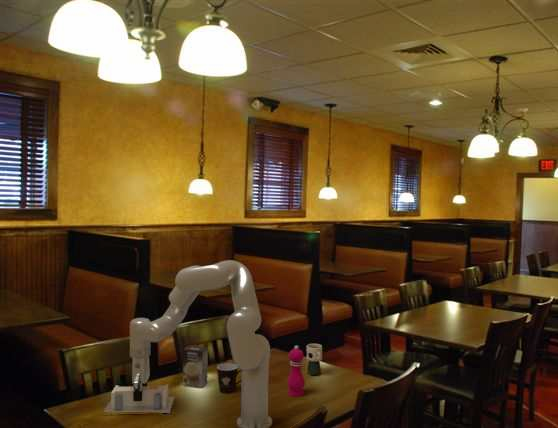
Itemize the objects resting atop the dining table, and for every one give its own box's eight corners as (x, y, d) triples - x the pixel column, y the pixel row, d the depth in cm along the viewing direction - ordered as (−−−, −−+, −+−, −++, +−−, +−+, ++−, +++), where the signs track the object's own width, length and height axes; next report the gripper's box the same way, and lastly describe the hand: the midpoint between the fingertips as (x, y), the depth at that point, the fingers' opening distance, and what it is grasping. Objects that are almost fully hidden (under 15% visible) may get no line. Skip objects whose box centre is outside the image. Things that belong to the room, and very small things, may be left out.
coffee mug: (212, 392, 205) (212, 368, 205) (224, 385, 213) (224, 362, 212) (236, 397, 200) (236, 373, 199) (247, 390, 207) (247, 366, 207)
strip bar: (165, 407, 187) (165, 389, 186) (111, 408, 185) (111, 391, 185) (168, 399, 194) (168, 382, 193) (115, 400, 192) (115, 383, 192)
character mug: (301, 371, 231) (302, 343, 230) (315, 369, 234) (315, 341, 233) (312, 379, 221) (313, 350, 220) (326, 376, 224) (327, 348, 223)
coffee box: (182, 386, 211) (182, 349, 210) (188, 381, 217) (188, 344, 217) (202, 388, 209) (202, 351, 208) (208, 383, 215) (208, 346, 214)
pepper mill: (303, 397, 200) (303, 348, 200) (285, 396, 202) (286, 347, 201) (305, 390, 207) (306, 343, 207) (288, 389, 209) (289, 342, 208)
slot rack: (170, 413, 184) (170, 396, 184) (103, 415, 182) (103, 398, 182) (174, 400, 196) (174, 384, 196) (111, 402, 194) (111, 385, 194)
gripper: (146, 358, 180) (146, 405, 181) (154, 344, 197) (154, 386, 198) (125, 359, 180) (125, 405, 180) (134, 344, 197) (134, 387, 197)
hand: (140, 395), depth 189 cm, fingers open, 9 cm apart
